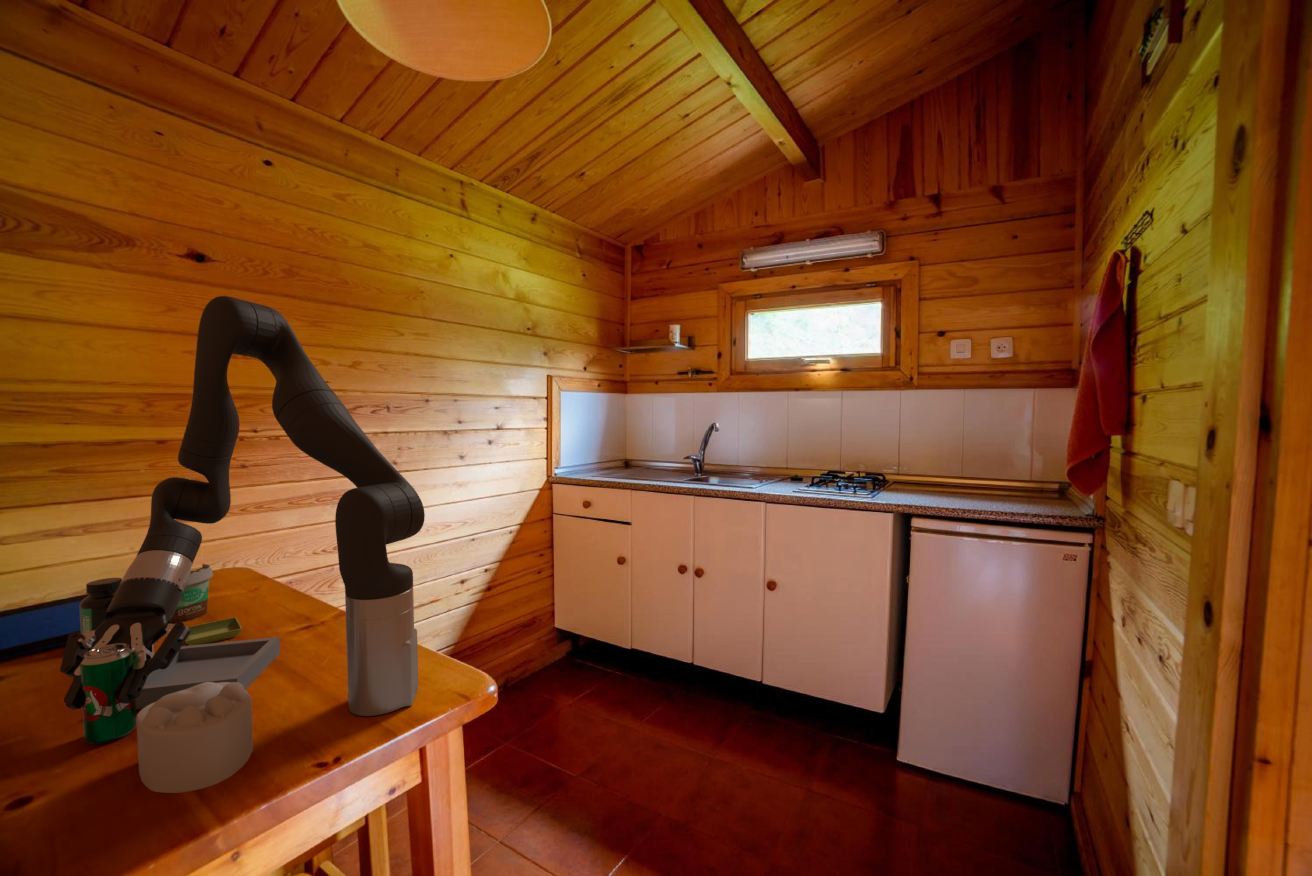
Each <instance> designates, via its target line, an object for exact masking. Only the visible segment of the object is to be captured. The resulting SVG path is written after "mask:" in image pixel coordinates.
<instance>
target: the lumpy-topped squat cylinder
mask: <svg viewBox="0 0 1312 876" xmlns="http://www.w3.org/2000/svg"><path fill="white" fill-rule="evenodd" d="M252 715H253V713H252V698H251V695H250V694H249V692H248V691H247V690H246V689H245V690H244V687H243V685H242V684H240V683H238V682H232V683H230V682H220V683H213V682H204V683H201V684H199V685H196V686H193V687H191V688H188V689H185V690H181V691H178V692H174V693H171V694H168V695H165V696H163V697H162V698H160V699H159V700H158V701H157V702H154V703H152V704H150V705H148V706H146V707H144V708H143V709H140V711H138V713H136V720H137V724H136V733H137V734H136V736H137V757H138V774H139V777H140V780H141V782H142V784H143V785H144V786H145V787H146V788H147V789H148V790H149V791H151V792H155V793H156V792H157V793H165V794H166V793H169V794H170V793H171V794H176V793H178V794H179V793H186V792H187V793H188V792H192V791H197V790H202V789H206V788H210V787H211V786H212V787H213V786H215V785H217V784H219V783H221V782H224V781H225V780H227V779H229V778H230V777H232V776H234V774H236V773H237V772H238V771H240V770H241V768H243V767H244V765H246V763H247V762H248V761H249V759H250V757H251V755H252V752H253V750H254V745H253V744H254V743H253V742H254V740H253V738H254V737H253V717H252Z"/></svg>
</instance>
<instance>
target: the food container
mask: <svg viewBox="0 0 1312 876" xmlns="http://www.w3.org/2000/svg"><path fill="white" fill-rule="evenodd" d="M201 564H202V565H201V567H200V568H198V569H194V570H190V575H189V578H188V581H187V585H186V587H185V589H184V591H183V593H182V596H181V598H180V601H179V603H178V605H177V608H176V610H175V613H174V615H173V617H172V619H171V620H170V624H176V623H179V622H182V623H184V622H185V623H186V622H189V621H191V620H196V619H198V618H200V617H203V616H205V615H206V614H207V612H208V601H209V586H210V579H212V577H213V576H214V573H213V572H214V571H212V570H213V569H212V567H210V564H205V563H201Z"/></svg>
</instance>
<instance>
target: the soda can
mask: <svg viewBox="0 0 1312 876" xmlns="http://www.w3.org/2000/svg"><path fill="white" fill-rule="evenodd" d="M80 670H81V688H82V723H83V738H84V741H85V742H86V743H88V744H91V745H102V744H108V743H111V742H115V741H117V740H119V739H122V738H124V737H126V736H127V735H129V734H130V733H131V732H132V731H133V730H134V729H135V727H137V719H136V718H137V709H136V700H135V699H134V701H133V702H132V703H127V704H124V703H122V702H121V701H119V695H120V693H121V690H122V688H123V686H124V683H125V681H126V679H127V677H128V675H129V673H130V671H134V664H133V651H132V650H131V649H130V648H129V644H126V643H117V644H110V645H105V646H101V647H98V648H95V649H92V650H87V652H86V653H85V654H84V659H83V660H82V662H81V663H80ZM114 740H115V741H114Z"/></svg>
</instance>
